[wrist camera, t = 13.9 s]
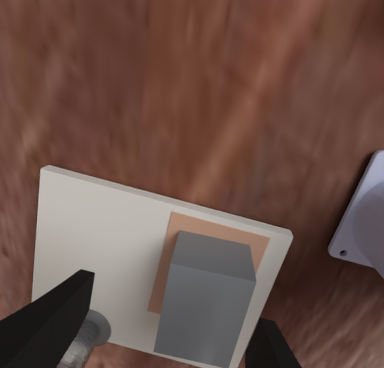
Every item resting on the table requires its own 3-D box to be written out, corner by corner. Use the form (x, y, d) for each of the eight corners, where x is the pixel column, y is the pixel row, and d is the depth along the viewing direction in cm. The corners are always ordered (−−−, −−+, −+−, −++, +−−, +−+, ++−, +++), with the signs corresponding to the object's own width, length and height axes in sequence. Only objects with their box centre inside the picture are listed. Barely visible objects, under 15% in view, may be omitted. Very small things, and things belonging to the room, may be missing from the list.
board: (290, 230, 20) (293, 237, 19) (230, 373, 26) (230, 385, 25) (48, 165, 21) (39, 169, 20) (36, 320, 26) (28, 330, 25)
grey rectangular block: (249, 244, 20) (256, 282, 16) (226, 321, 22) (228, 369, 19) (179, 229, 20) (170, 263, 16) (164, 307, 22) (153, 351, 19)
